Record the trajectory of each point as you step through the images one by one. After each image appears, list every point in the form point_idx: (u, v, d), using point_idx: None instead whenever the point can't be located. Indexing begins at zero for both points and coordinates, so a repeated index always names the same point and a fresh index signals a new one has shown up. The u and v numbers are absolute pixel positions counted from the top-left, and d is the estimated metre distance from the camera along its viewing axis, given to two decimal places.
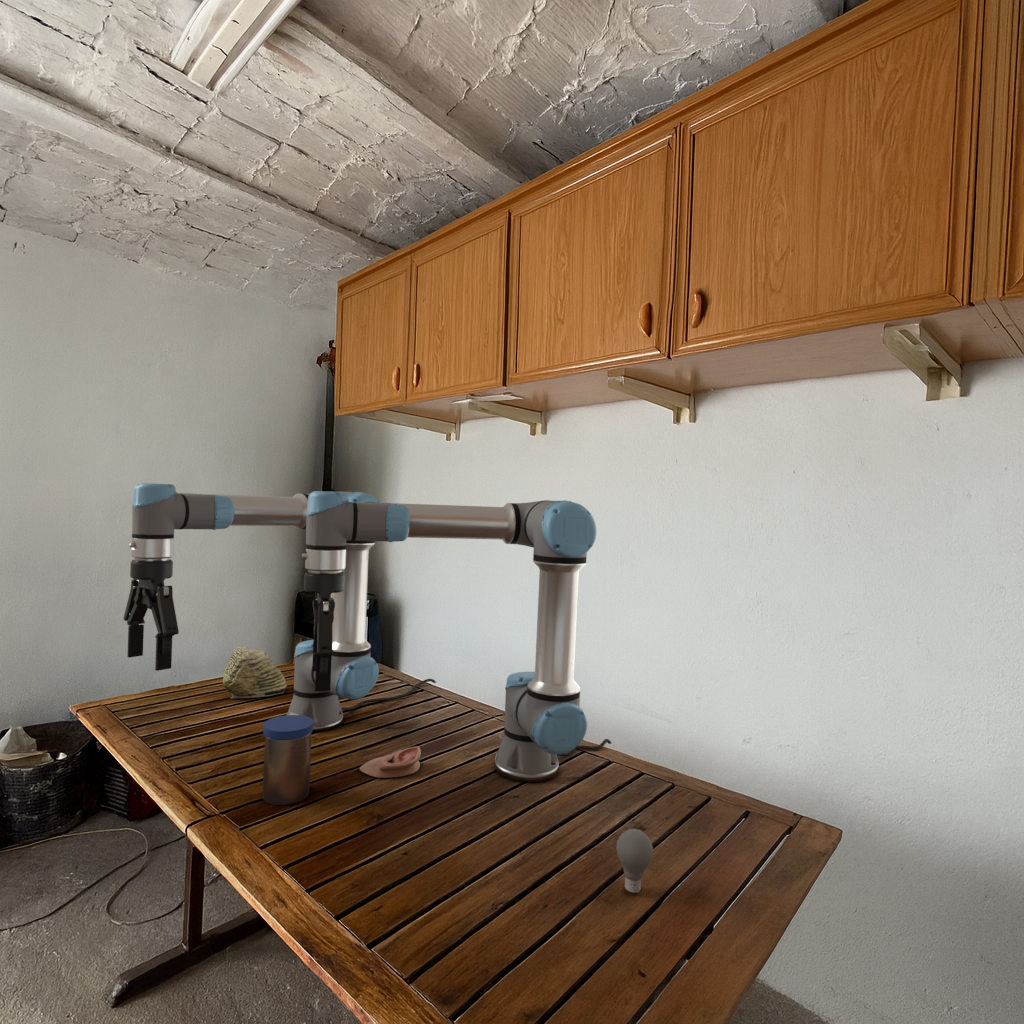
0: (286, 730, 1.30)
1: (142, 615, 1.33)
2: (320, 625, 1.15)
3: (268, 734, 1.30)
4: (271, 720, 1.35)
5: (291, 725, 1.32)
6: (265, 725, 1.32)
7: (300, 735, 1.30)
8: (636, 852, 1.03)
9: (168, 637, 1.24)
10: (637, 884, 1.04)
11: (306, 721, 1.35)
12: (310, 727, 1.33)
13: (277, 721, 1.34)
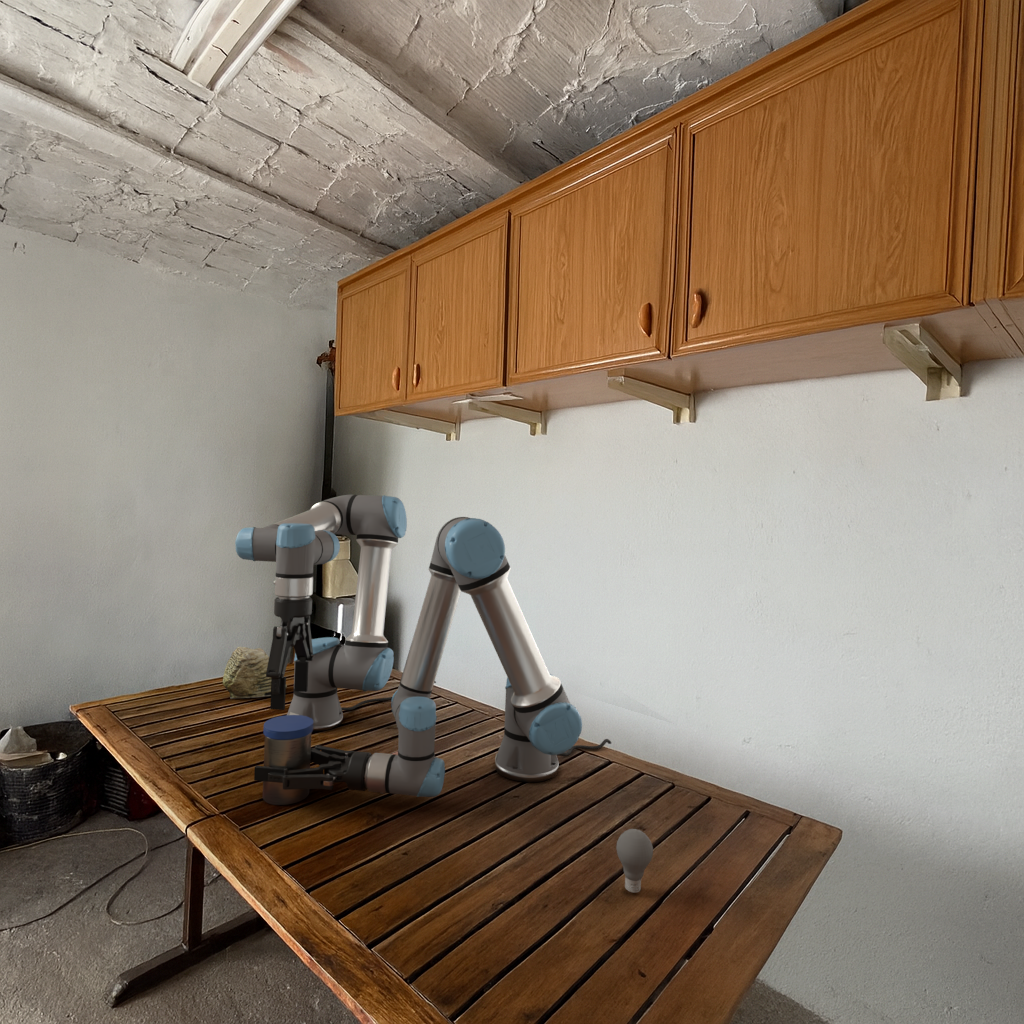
0: (286, 730, 1.30)
1: (303, 652, 1.39)
2: None
3: (268, 734, 1.30)
4: (271, 720, 1.35)
5: (291, 725, 1.32)
6: (265, 725, 1.32)
7: (300, 735, 1.30)
8: (636, 852, 1.03)
9: (275, 678, 1.26)
10: (637, 884, 1.04)
11: (306, 721, 1.35)
12: (310, 727, 1.33)
13: (277, 721, 1.34)
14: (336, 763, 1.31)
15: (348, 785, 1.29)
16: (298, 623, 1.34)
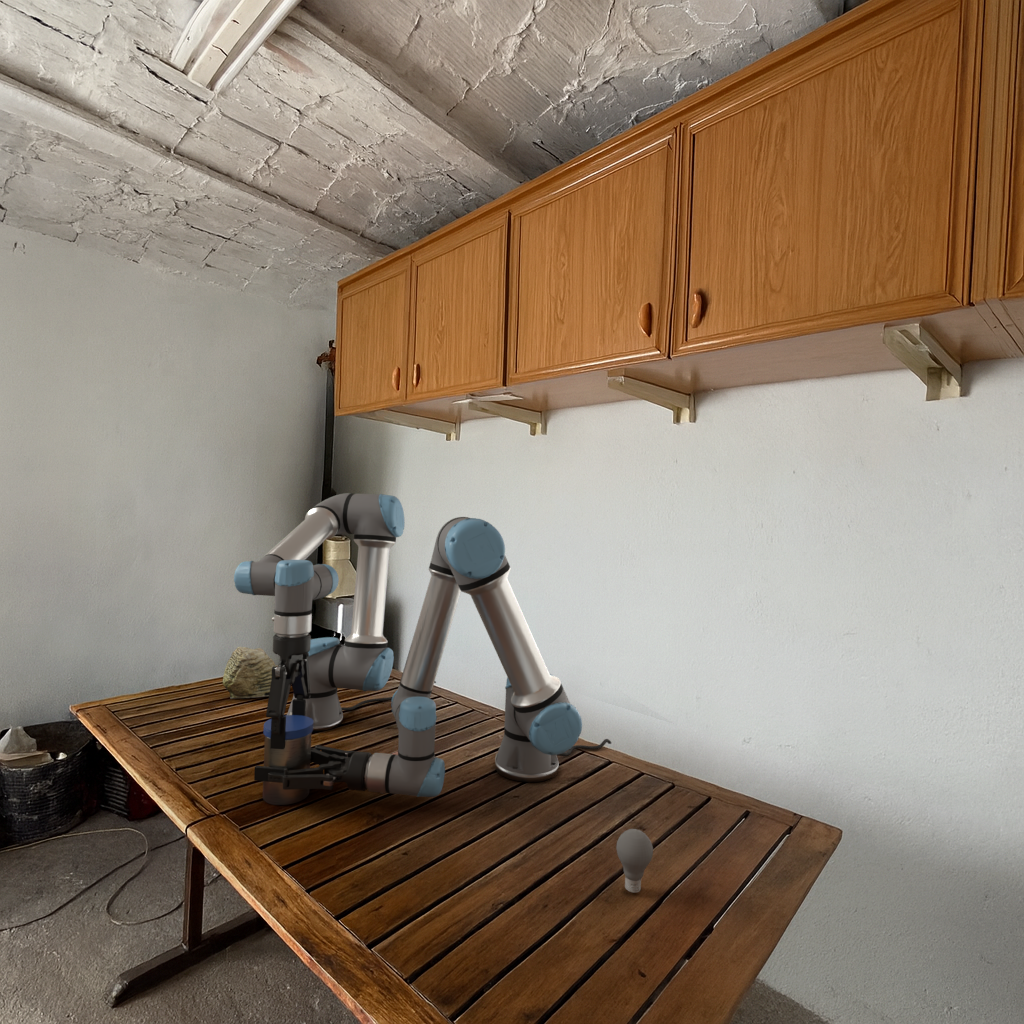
0: (286, 730, 1.30)
1: (301, 689, 1.38)
2: None
3: (268, 734, 1.30)
4: None
5: (291, 725, 1.32)
6: (265, 725, 1.32)
7: (300, 735, 1.30)
8: (636, 852, 1.03)
9: (275, 718, 1.27)
10: (637, 884, 1.04)
11: (306, 721, 1.35)
12: (310, 727, 1.33)
13: None
14: (336, 763, 1.31)
15: (348, 785, 1.29)
16: (297, 660, 1.34)
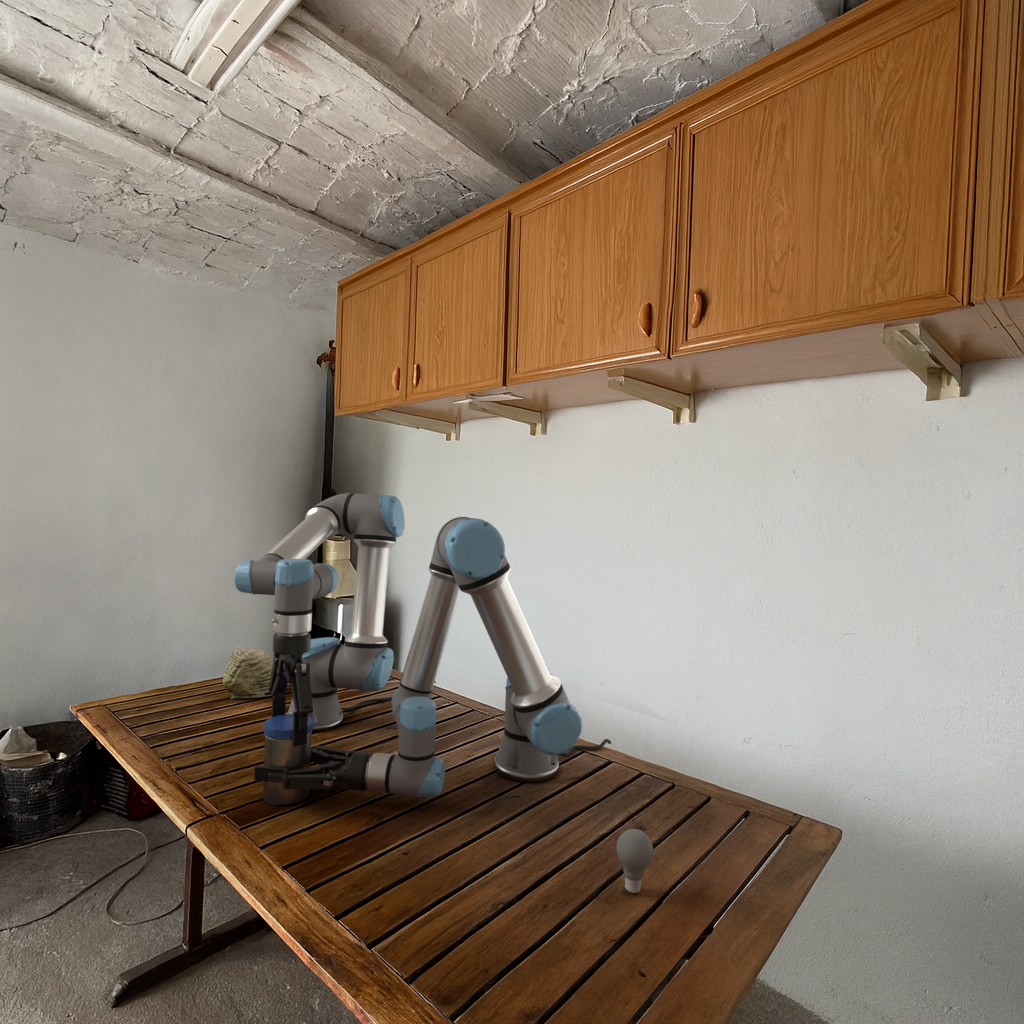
0: (310, 721, 1.34)
1: (284, 687, 1.38)
2: None
3: None
4: (275, 728, 1.30)
5: None
6: (289, 729, 1.29)
7: None
8: (636, 852, 1.03)
9: (304, 715, 1.28)
10: (637, 884, 1.04)
11: (290, 716, 1.37)
12: None
13: (280, 725, 1.31)
14: (336, 763, 1.31)
15: (348, 785, 1.29)
16: None
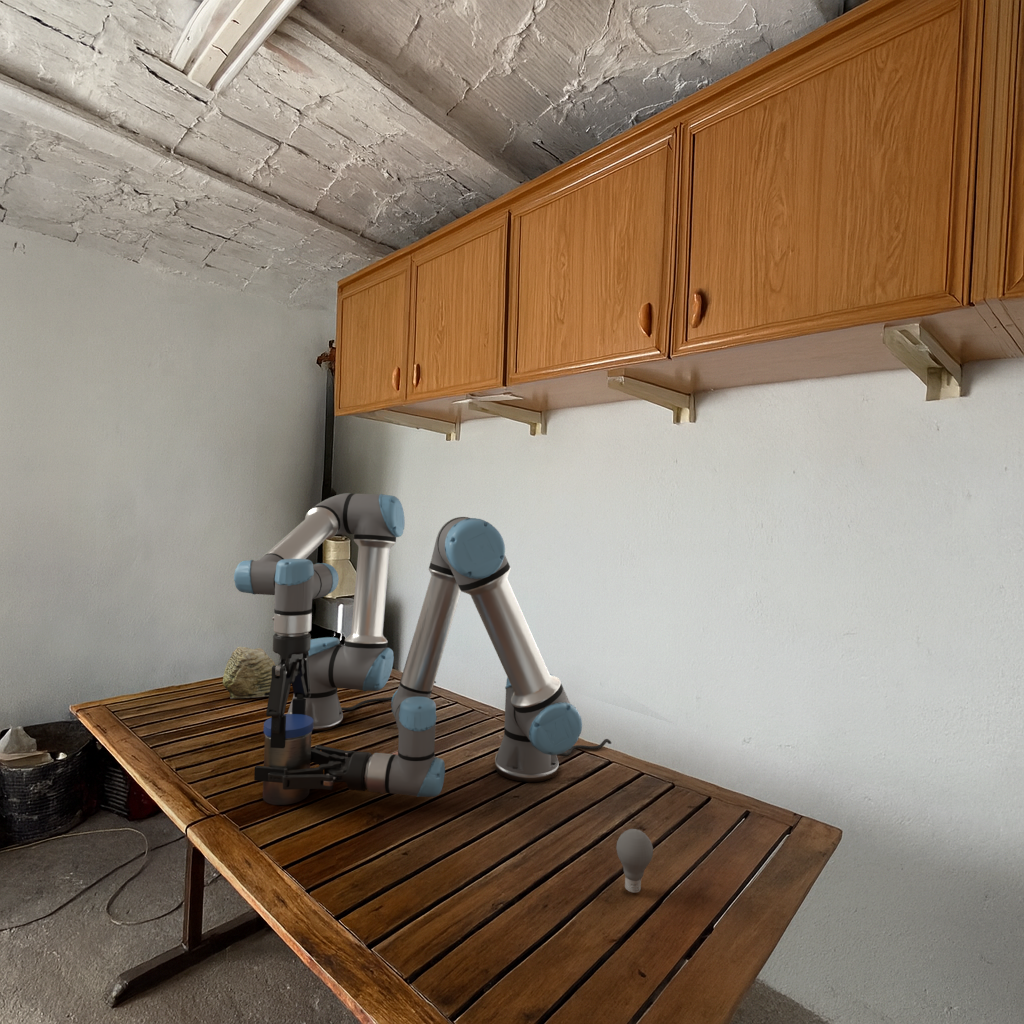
0: (310, 721, 1.34)
1: (301, 688, 1.38)
2: None
3: (302, 732, 1.31)
4: None
5: (298, 720, 1.35)
6: (289, 729, 1.29)
7: None
8: (636, 852, 1.03)
9: (275, 718, 1.27)
10: (637, 884, 1.04)
11: (290, 716, 1.37)
12: None
13: None
14: (336, 763, 1.31)
15: (348, 785, 1.29)
16: (297, 659, 1.34)
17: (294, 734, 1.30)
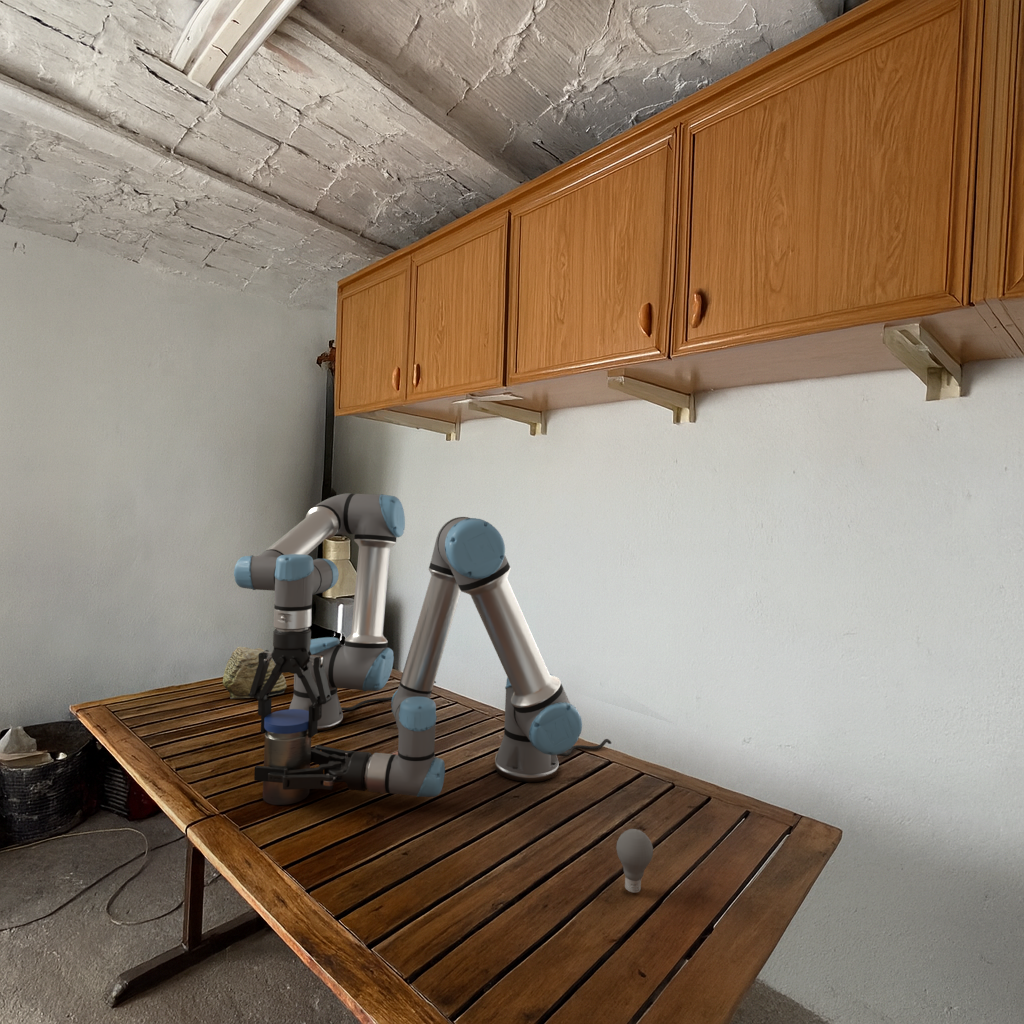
0: (295, 710, 1.38)
1: (272, 687, 1.35)
2: None
3: None
4: (304, 720, 1.32)
5: (289, 714, 1.36)
6: None
7: None
8: (636, 852, 1.03)
9: (321, 704, 1.33)
10: (637, 884, 1.04)
11: (271, 717, 1.33)
12: None
13: (299, 719, 1.33)
14: (336, 763, 1.31)
15: (348, 785, 1.29)
16: None
17: None
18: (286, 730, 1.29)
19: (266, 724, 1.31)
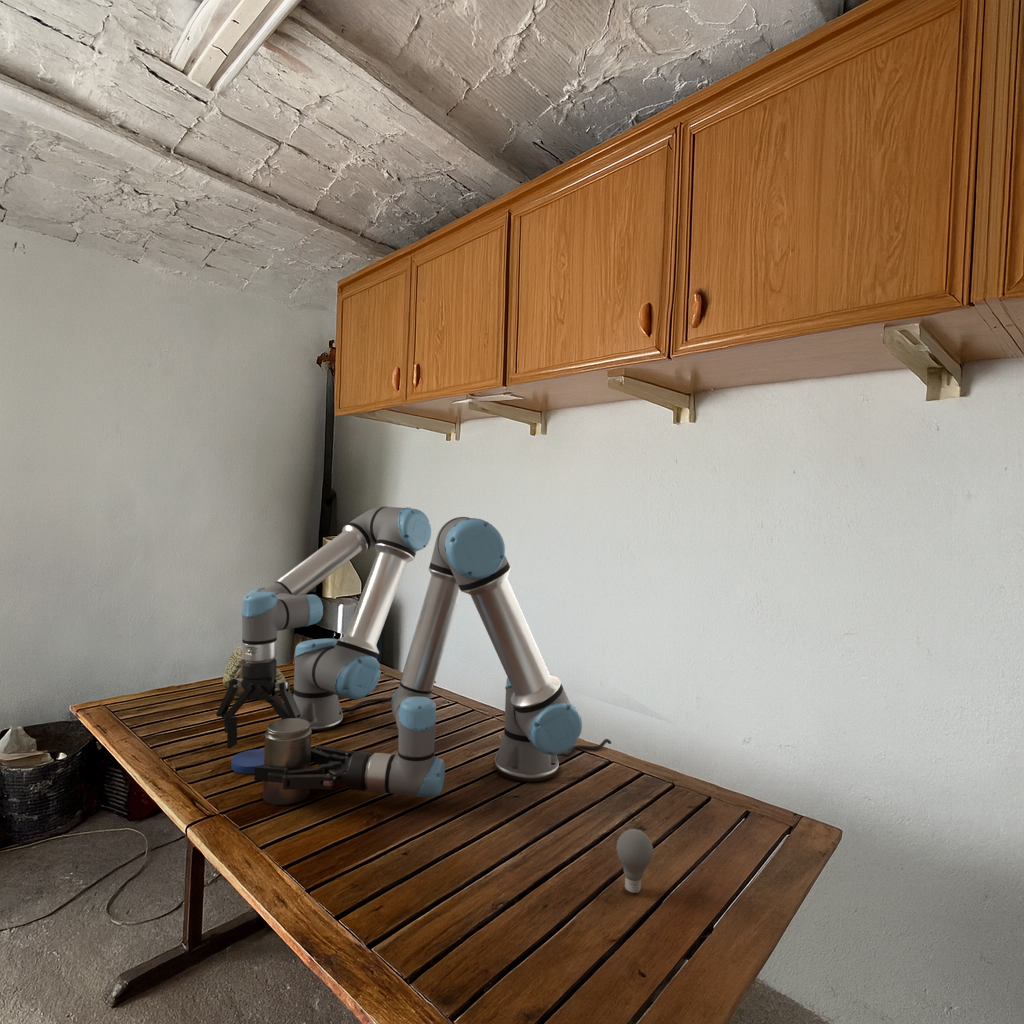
0: (261, 750, 1.52)
1: (238, 709, 1.50)
2: None
3: None
4: None
5: (254, 754, 1.50)
6: None
7: None
8: (636, 852, 1.03)
9: None
10: (637, 884, 1.04)
11: (238, 758, 1.47)
12: None
13: (263, 759, 1.47)
14: (336, 763, 1.31)
15: (348, 785, 1.29)
16: None
17: None
18: (250, 770, 1.43)
19: (232, 765, 1.44)
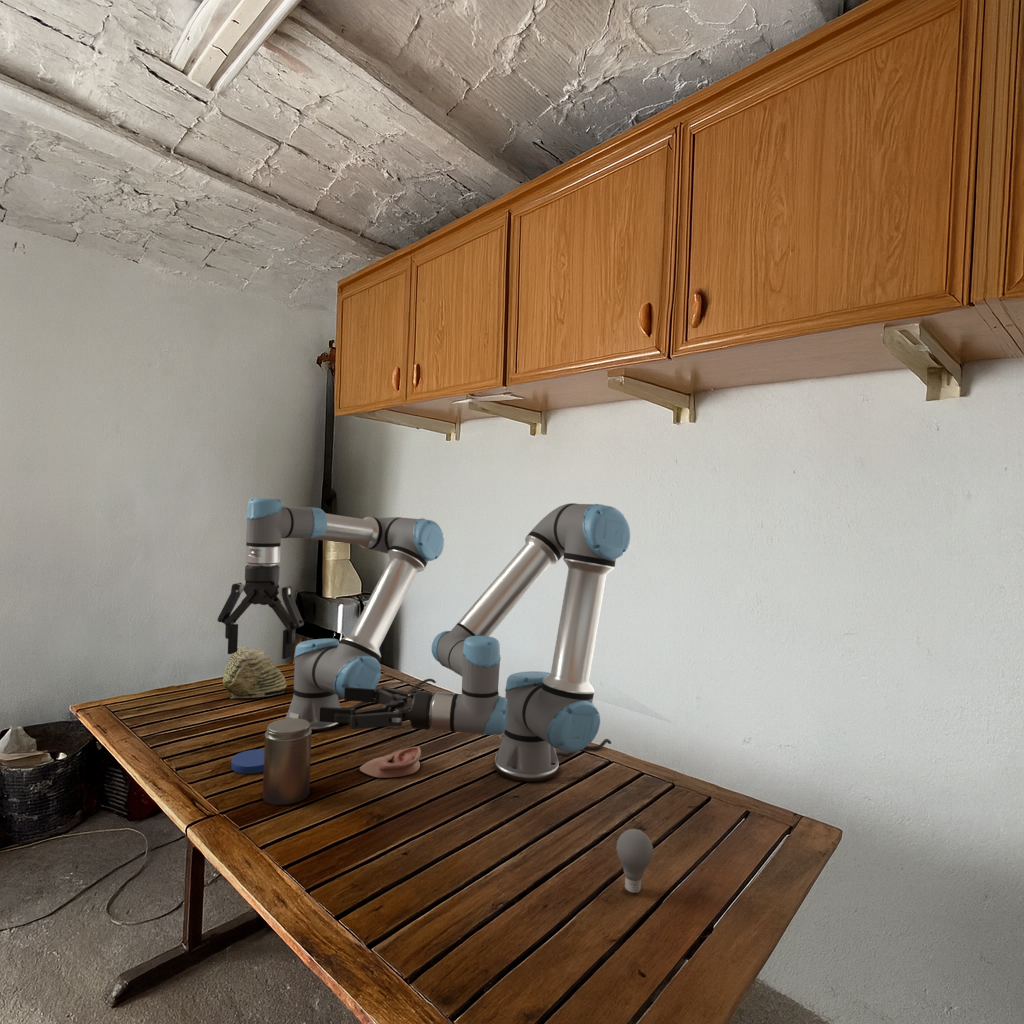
0: (261, 750, 1.52)
1: (240, 615, 1.49)
2: None
3: None
4: None
5: (254, 754, 1.50)
6: None
7: None
8: (636, 852, 1.03)
9: (294, 629, 1.46)
10: (637, 884, 1.04)
11: (238, 758, 1.47)
12: None
13: (263, 759, 1.47)
14: (399, 702, 1.30)
15: (412, 723, 1.28)
16: None
17: None
18: (250, 770, 1.43)
19: (232, 765, 1.44)
